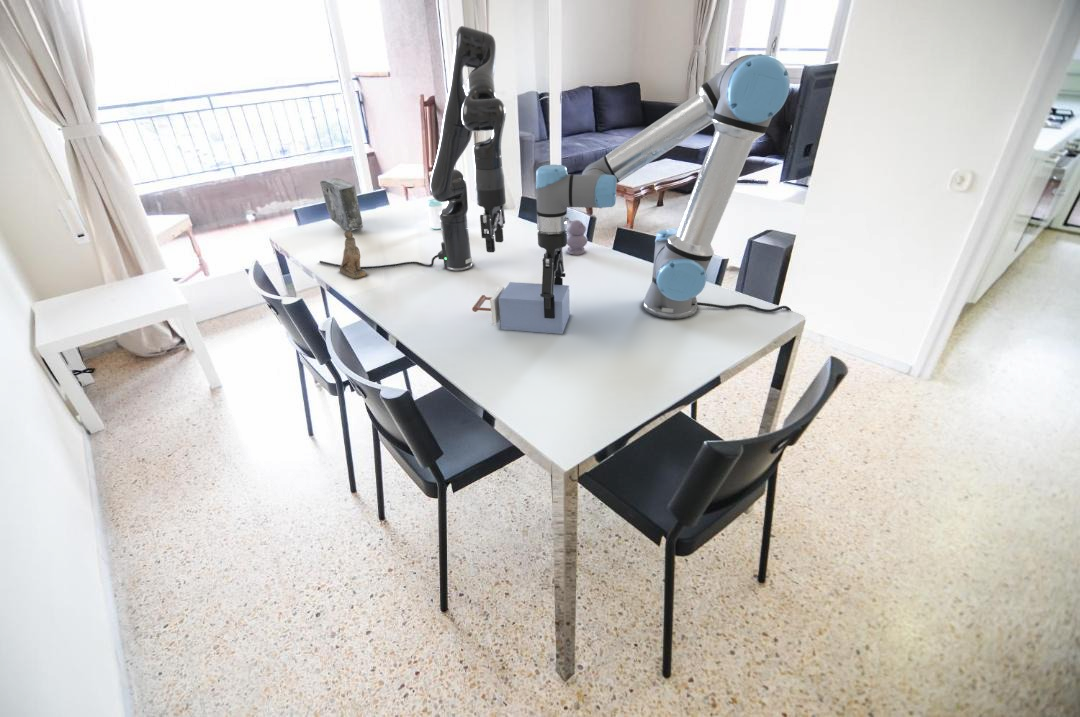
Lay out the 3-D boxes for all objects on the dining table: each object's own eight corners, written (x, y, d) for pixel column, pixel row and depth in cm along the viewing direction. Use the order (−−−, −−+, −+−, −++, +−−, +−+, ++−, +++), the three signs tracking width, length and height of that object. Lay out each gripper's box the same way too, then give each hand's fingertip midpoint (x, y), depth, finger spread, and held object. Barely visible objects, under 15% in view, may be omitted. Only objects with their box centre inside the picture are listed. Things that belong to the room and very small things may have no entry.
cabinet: (501, 329, 138) (498, 298, 133) (511, 312, 148) (509, 282, 143) (562, 334, 135) (562, 302, 130) (569, 315, 144) (569, 285, 139)
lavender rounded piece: (591, 251, 189) (592, 220, 183) (578, 257, 185) (578, 225, 178) (574, 246, 195) (574, 216, 188) (561, 252, 190) (560, 221, 183)
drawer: (472, 323, 140) (469, 298, 136) (483, 307, 148) (480, 284, 144) (548, 328, 136) (547, 303, 132) (555, 312, 144) (554, 288, 140)
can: (445, 229, 220) (441, 202, 214) (429, 230, 220) (425, 202, 214) (447, 224, 226) (444, 198, 220) (432, 225, 226) (428, 198, 220)
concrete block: (368, 232, 220) (358, 186, 209) (348, 237, 216) (336, 189, 205) (349, 220, 239) (338, 176, 228) (330, 223, 234) (319, 179, 224)
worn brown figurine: (368, 281, 178) (362, 235, 166) (353, 285, 175) (347, 238, 163) (352, 266, 184) (346, 221, 172) (338, 270, 181) (331, 224, 169)
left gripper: (496, 192, 121) (501, 256, 130) (510, 179, 133) (514, 239, 142) (467, 192, 123) (474, 255, 131) (484, 179, 135) (489, 238, 143)
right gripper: (557, 246, 116) (559, 329, 127) (574, 217, 135) (574, 291, 146) (526, 244, 117) (530, 326, 129) (547, 216, 137) (549, 290, 148)
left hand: (495, 246), depth 136 cm, fingers open, 8 cm apart
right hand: (553, 308), depth 138 cm, fingers closed on cabinet, 11 cm apart
